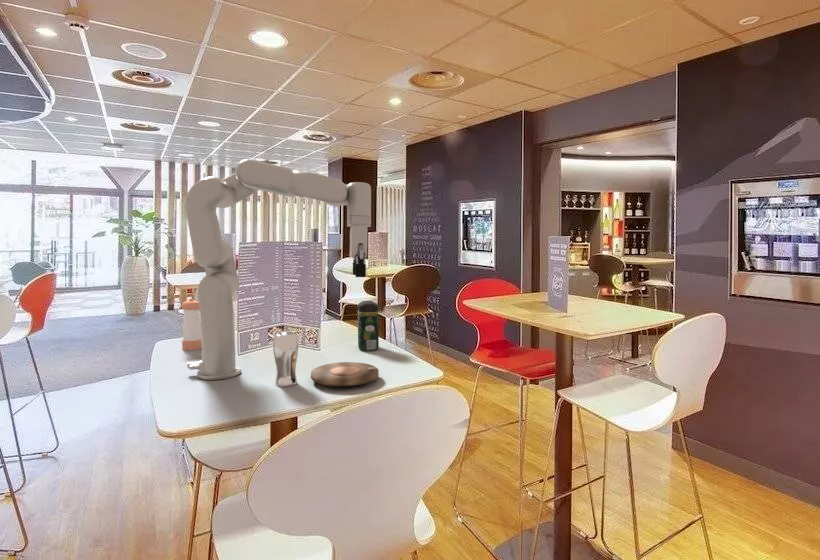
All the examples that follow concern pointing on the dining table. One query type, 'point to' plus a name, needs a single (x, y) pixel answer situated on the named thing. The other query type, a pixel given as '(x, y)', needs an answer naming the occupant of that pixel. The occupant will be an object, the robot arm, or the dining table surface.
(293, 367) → the beer glass
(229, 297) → the robot arm
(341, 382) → the disc
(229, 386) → the dining table surface
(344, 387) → the turntable base
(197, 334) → the orange and white bottle
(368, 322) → the coffee jar
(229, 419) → the dining table surface
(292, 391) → the dining table surface
